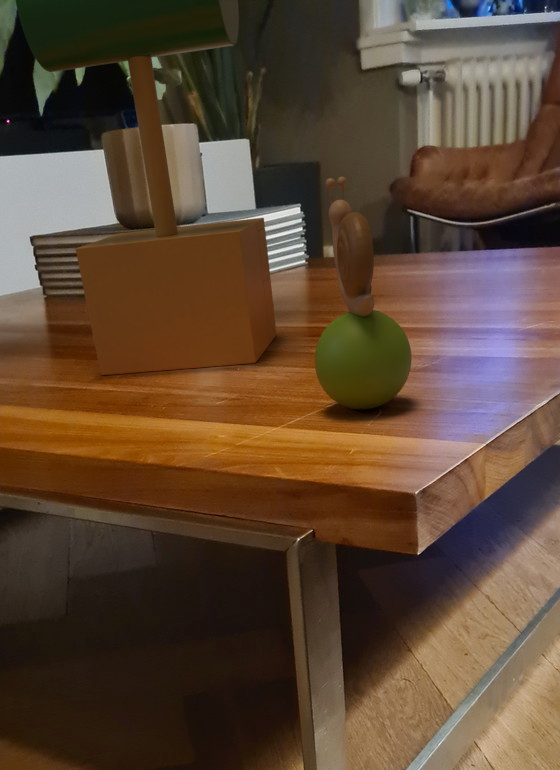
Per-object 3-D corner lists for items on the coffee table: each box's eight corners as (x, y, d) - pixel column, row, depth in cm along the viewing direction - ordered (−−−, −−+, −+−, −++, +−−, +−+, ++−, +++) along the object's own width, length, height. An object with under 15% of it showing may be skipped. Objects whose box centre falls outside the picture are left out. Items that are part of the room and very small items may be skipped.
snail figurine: (394, 386, 56) (382, 171, 51) (425, 411, 51) (416, 171, 45) (307, 400, 56) (286, 183, 50) (330, 426, 50) (309, 185, 45)
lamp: (261, 364, 66) (206, -99, 54) (92, 377, 69) (2, -62, 56) (282, 335, 75) (240, -67, 63) (132, 347, 78) (63, -37, 65)
